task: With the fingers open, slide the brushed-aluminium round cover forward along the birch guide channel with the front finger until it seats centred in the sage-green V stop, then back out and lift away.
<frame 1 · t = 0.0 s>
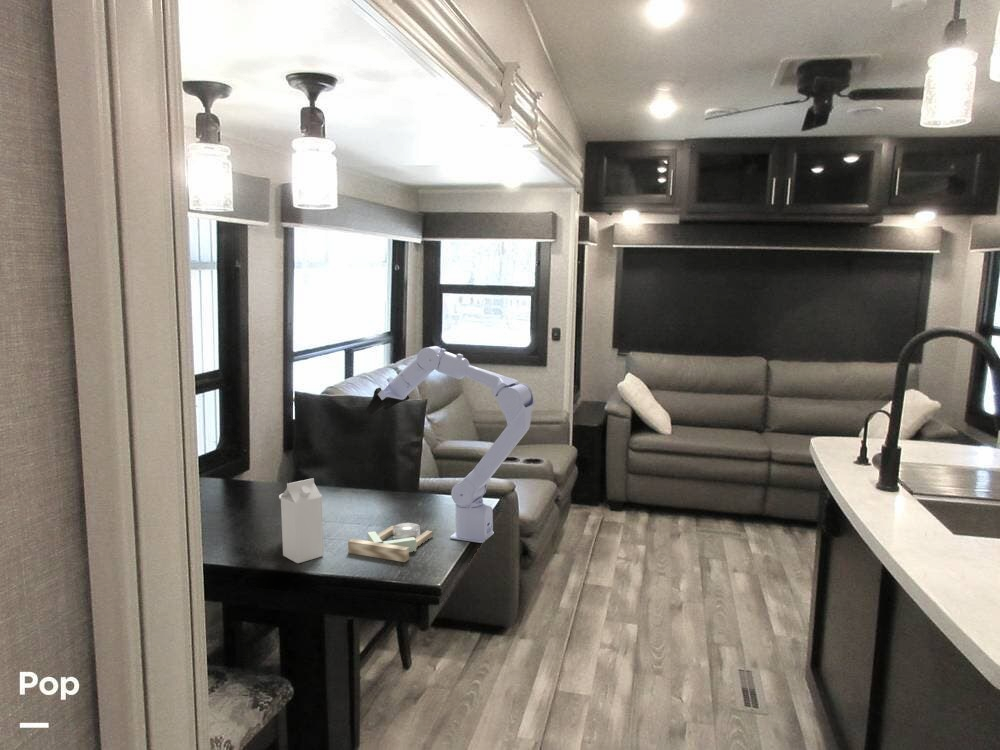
hand: (376, 409, 194), 32 cm above the table, tool tilted 50°, fingers open, 7 cm apart
milk carton: (303, 557, 173), on the table
aluminium cover: (406, 538, 186), on the table
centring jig: (393, 546, 180), on the table
plastic cup: (302, 539, 186), on the table
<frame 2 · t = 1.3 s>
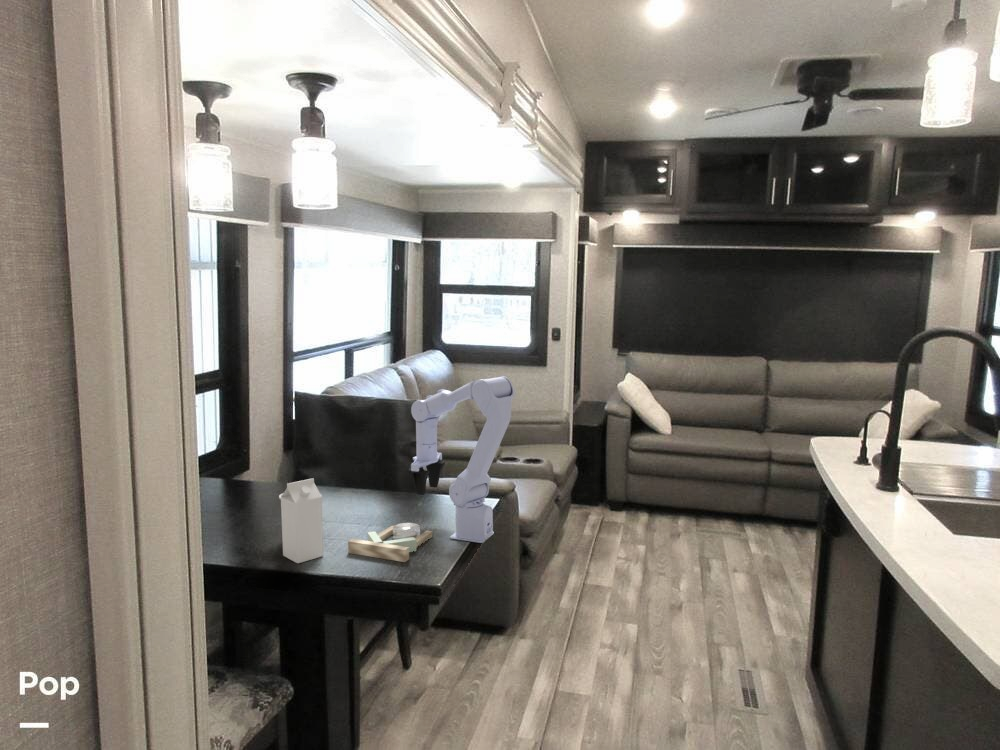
hand: (427, 490, 196), 9 cm above the table, tool pointing down, fingers open, 7 cm apart
nothing on the table moved.
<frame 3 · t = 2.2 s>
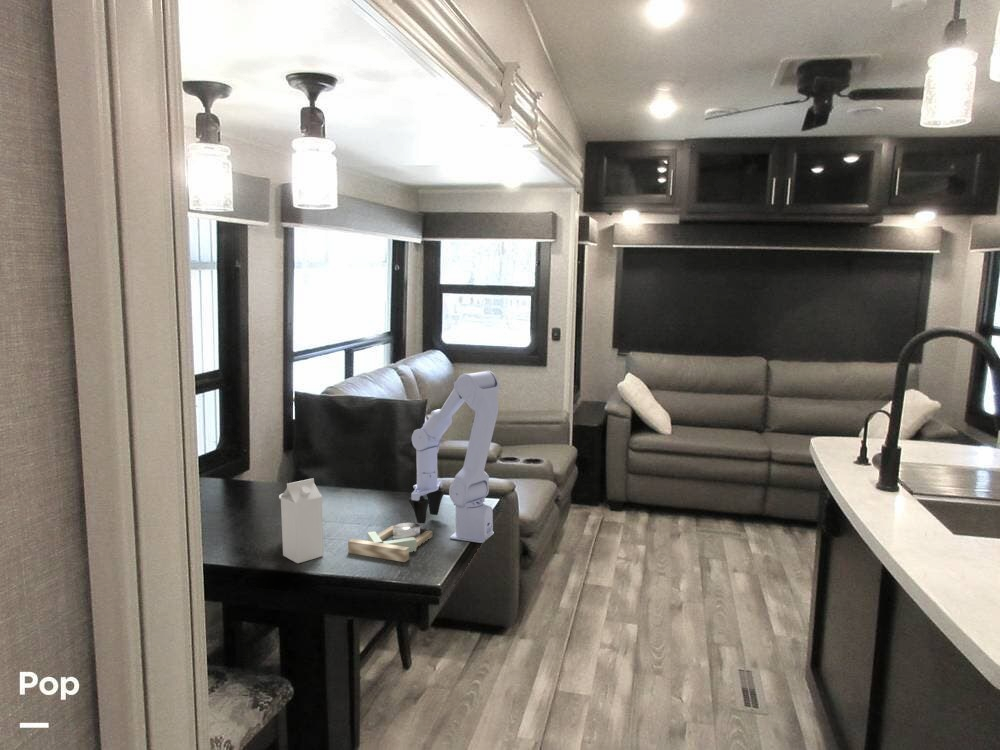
hand: (427, 518, 197), 1 cm above the table, tool pointing down, fingers open, 7 cm apart
nothing on the table moved.
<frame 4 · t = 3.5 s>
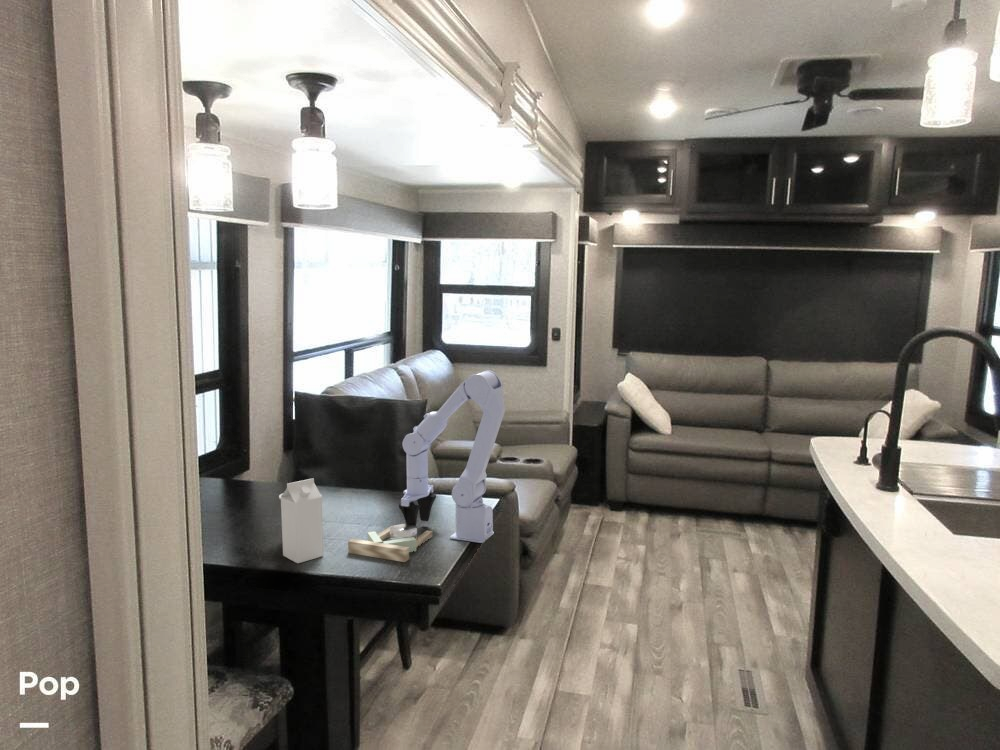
hand: (418, 524, 192), 1 cm above the table, tool pointing down, fingers open, 7 cm apart
aluminium cover: (403, 539, 185), on the table, touching gripper
everything else where it was.
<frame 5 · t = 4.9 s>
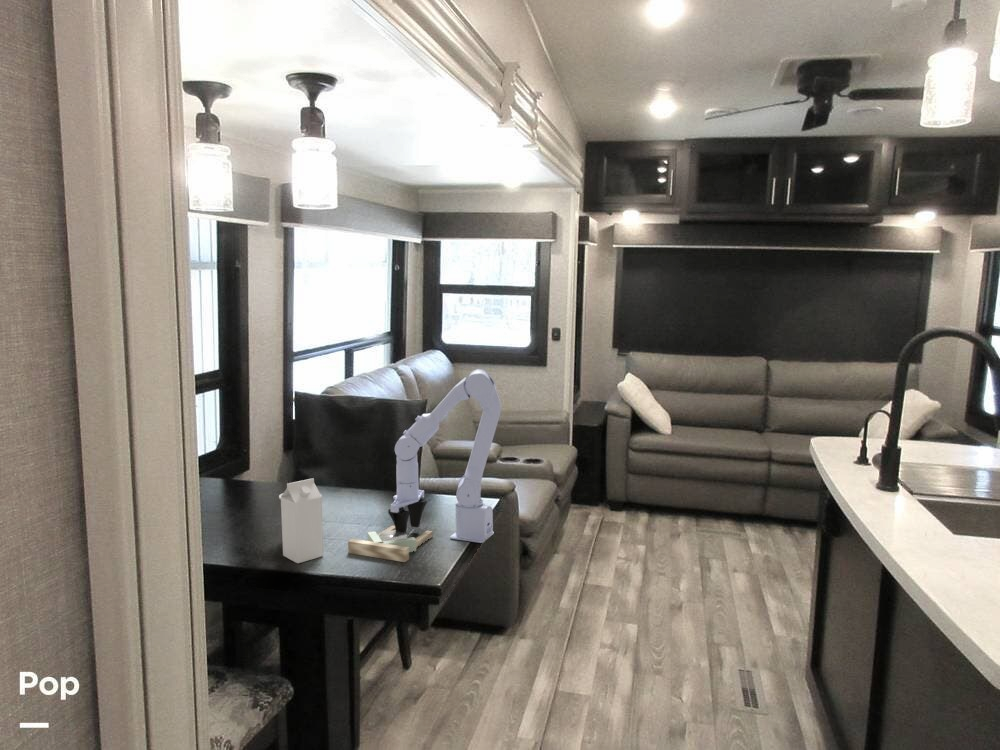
hand: (408, 531, 187), 1 cm above the table, tool pointing down, fingers open, 7 cm apart
aluminium cover: (393, 546, 180), on the table, touching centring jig, gripper
everything else where it was.
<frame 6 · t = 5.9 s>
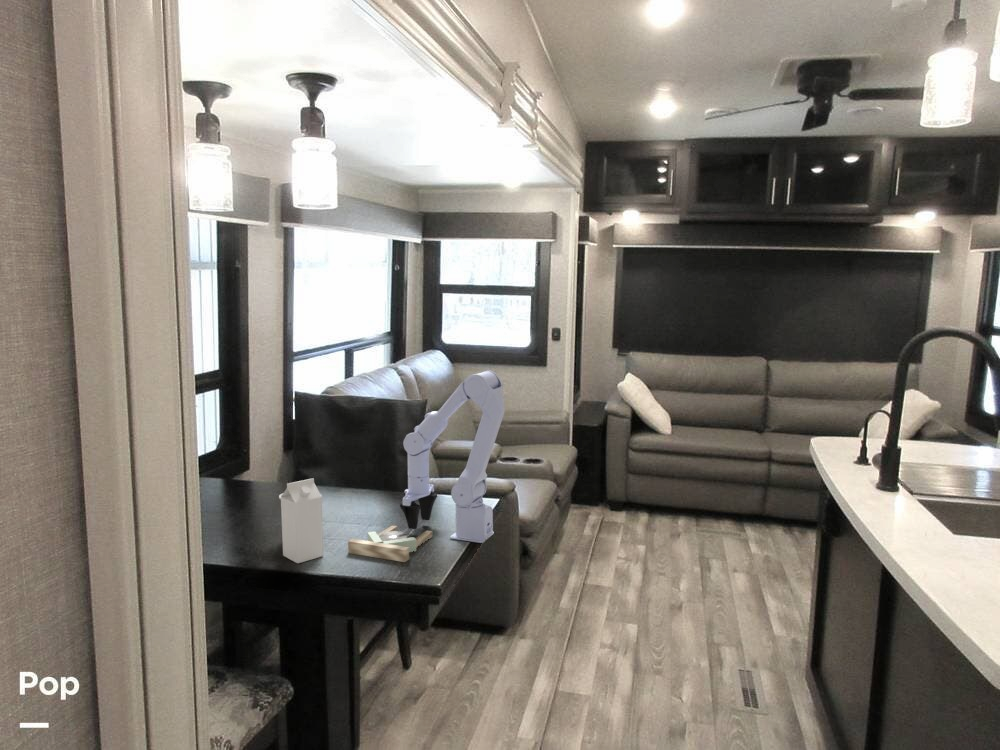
hand: (419, 524, 193), 1 cm above the table, tool pointing down, fingers open, 7 cm apart
aluminium cover: (393, 547, 180), on the table
everything else where it was.
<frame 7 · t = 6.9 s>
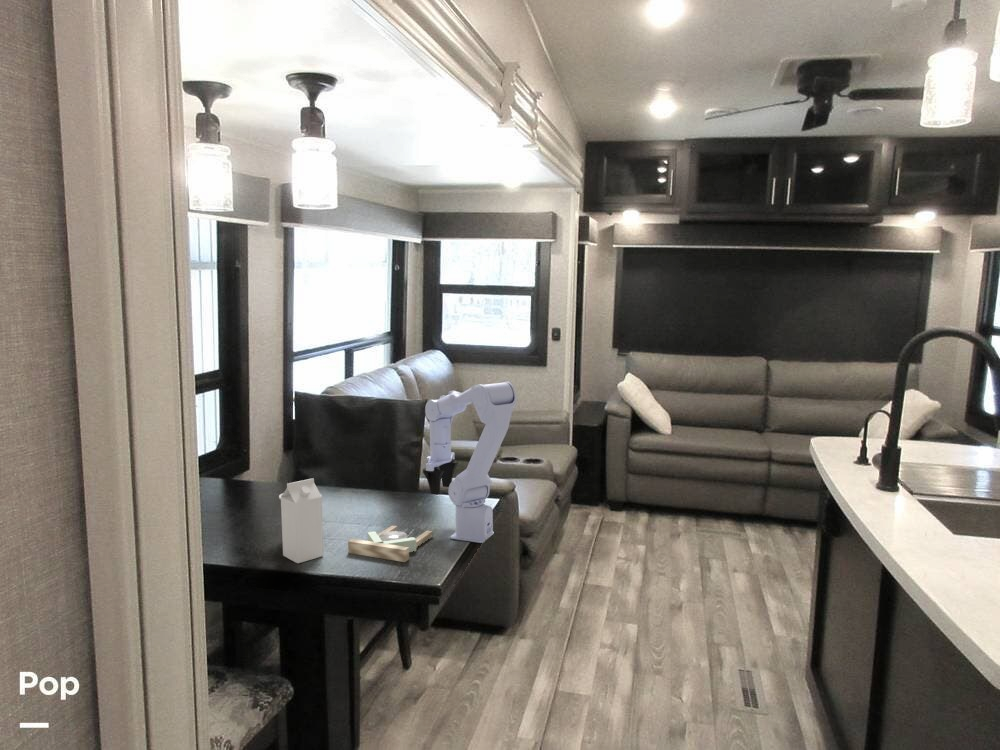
hand: (441, 490, 197), 9 cm above the table, tool pointing down, fingers open, 7 cm apart
nothing on the table moved.
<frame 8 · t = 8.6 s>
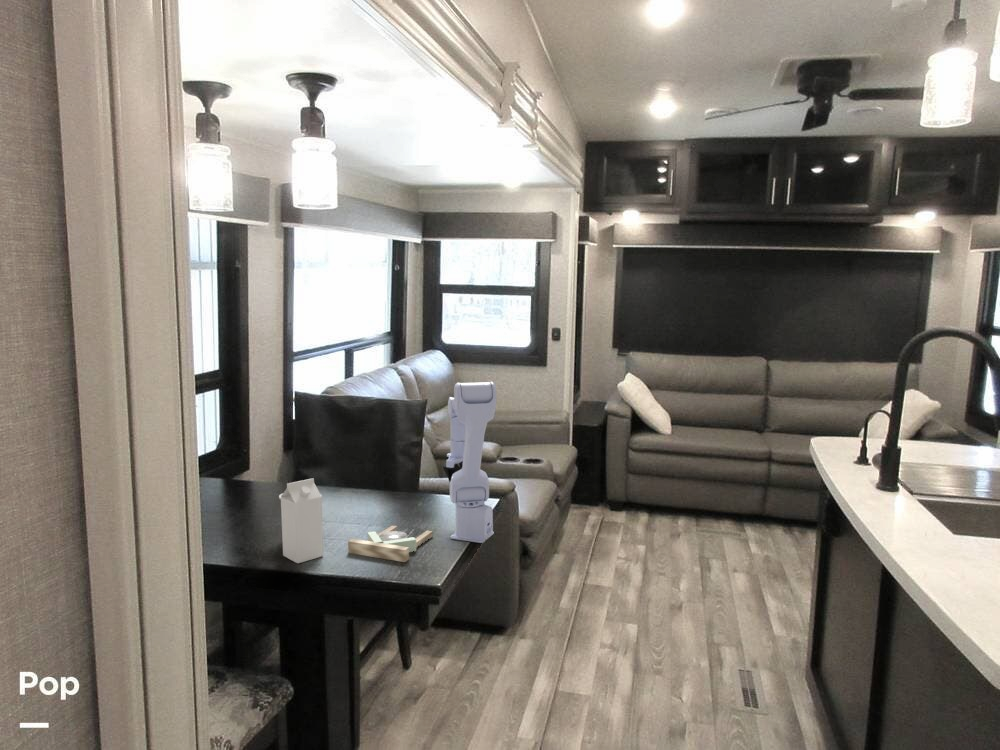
hand: (460, 486, 200), 9 cm above the table, tool pointing down, fingers open, 7 cm apart
nothing on the table moved.
at the end: aluminium cover 0.5 cm off-centre on the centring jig, point 0.0 cm above the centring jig's base; aluminium cover tilted 0°; aluminium cover moved 7.0 cm from its start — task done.
